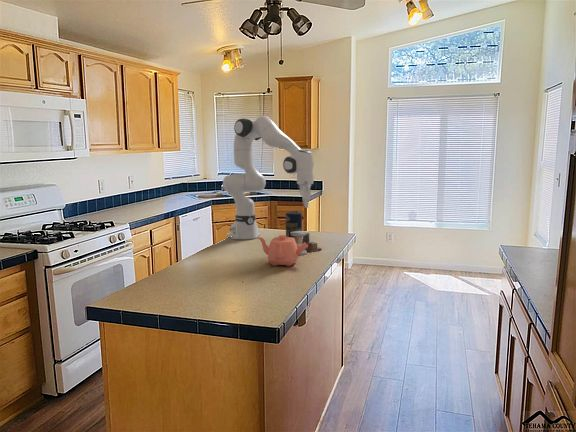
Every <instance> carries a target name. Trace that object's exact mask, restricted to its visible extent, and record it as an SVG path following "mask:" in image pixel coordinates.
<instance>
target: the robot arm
mask: <svg viewBox="0 0 576 432" xmlns="http://www.w3.org/2000/svg"><path fill="white" fill-rule="evenodd" d="M233 128H234V129H233V131H234V133H235V135H234V140H233V163H234V165H235V166H236V167H237V168H240V169H241V170H244V172H245V173H237V174H236V173H233V174H227V175H226V176H224V178H223V180H222V187H223V189H224V190H225V191H226V192H227V193H228V194H230V196H231V197H232V198H233V200H234V203H235V209H236V212H235V213H236V214H235V215H234V217H235V219H234V220H235V221H234V222H233V223H232V224H231V225H230V227H229V231H230V232H228V233H226V236H227V237H229V238H230V239H232V240H251V239H258V238H257V237H260V236H261V234H260V233H259V227H258V222H256V220H257V217H256V214H255V202H254V200H253V199H252V198H249V197H248V196H245V194H244V193H252V192H253V193H254V192H255V193H256V192H259V191H263V190H264V189H265V188H266V184H267V181H266V177H264V175H263V174H261V173H260V172H259V171H258V170H257V169H256V167H255V164H254V159H253V145H252V144H253V141H254V140H255V141H259V140H260V139H262V141H263V142H264V143H265V144H266V145H268V146H269V147H272V148H277V149H282V150H285V151H287V152H288V153H289V154H290V155H288V156H286V157H285V158H284V160H283V163H282V165H283V166H282V167H283V170H284V171H285V172H286V173H287V174H290V175H291V174H293V175H294V174H296V184H297V185H298V187H299V194H300V196H301V197H302V199H301V200H302V205H304V208H306V209H308V208H309V202H310V201H311V187H312V185H314V171H313V170H314V164H315V163H314V157H313V156H314V155H313V153H312V151H311V150H308V149H302V148H301V147H300V146H299V145H298V144H297V143H296V142H295V141H294V140H293V139H292V138H291V137H290V136H288V135H287V134H286V133H284V131H282V130H281V129H280V128H279V127H278V126H277V124H276V123H275V122H274V121H273V120H272V119H271V118H270V117H268V116H267V115H261V116H258V117H257V118H246V117H245V118H239V119H237V120H236V122H235V123H234V127H233ZM231 236H232V237H231Z"/></svg>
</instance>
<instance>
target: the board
mask: <svg viewBox="0 0 576 432" xmlns="http://www.w3.org/2000/svg"><path fill="white" fill-rule="evenodd" d="M302 244H303V238H302ZM307 245H308V247H307V248H306V249H305V250H306V251H307V252H310V253H313V252H314V251H315V252H319V251H322V250H323V249H322V248H321V247H318V242H315V241H309V242H307Z"/></svg>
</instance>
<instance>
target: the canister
mask: <svg viewBox="0 0 576 432" xmlns="http://www.w3.org/2000/svg"><path fill="white" fill-rule="evenodd" d="M302 221H303V214H302V212H300V211H297V210H292V211H287V212H286V213H285V226H284V227H285V235H286V237H293V238H294V239H295V236H291V235H290V233H291V232H294V231H303V224H302V223H303V222H302Z"/></svg>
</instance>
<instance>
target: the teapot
mask: <svg viewBox="0 0 576 432" xmlns="http://www.w3.org/2000/svg"><path fill="white" fill-rule="evenodd" d="M256 239H258V240H259V241H260V242H261V245H262V250H263V252H264V253H265V254H266V255H267V261H268V263H269V264H270V265H272V266H273V267H277V266H280V265H281V266H286V267H292V265H293V264H295V263H296V262H297V260H298V258H299V256H300V255H299V254H300V253H301V252H302V251H303V250H305V249H306V248H307V247H308V245H307V244H306V243H305V242H304V243H303V244H302V245H301V246H300V247H299V248H298V249H297V245H296V242H295V239H294V238H293V237H286V234H280V235H279V236H276V237H274V238H272V239H271V240H270V242H269V246H268V245H267V243H266V240H265V239H264V238H263V237H260V236H258V237H257V238H256Z"/></svg>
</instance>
